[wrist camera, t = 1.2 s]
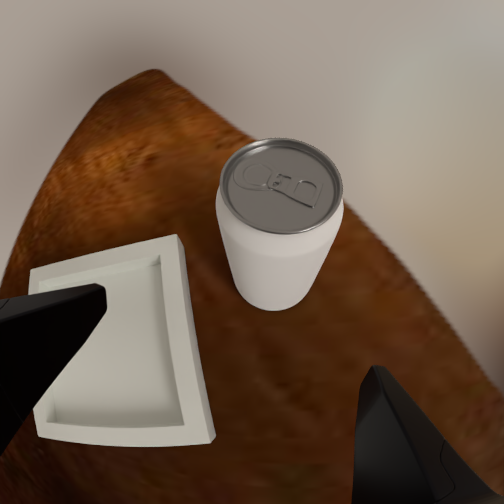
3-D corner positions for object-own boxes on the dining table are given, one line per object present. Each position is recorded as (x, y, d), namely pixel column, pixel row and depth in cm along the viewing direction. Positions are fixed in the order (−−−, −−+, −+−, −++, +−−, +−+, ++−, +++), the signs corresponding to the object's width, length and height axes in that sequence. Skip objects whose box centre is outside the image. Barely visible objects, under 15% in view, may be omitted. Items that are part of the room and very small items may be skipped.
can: (253, 228, 25) (247, 120, 14) (322, 254, 24) (363, 156, 13) (220, 292, 23) (183, 211, 12) (295, 324, 22) (329, 267, 11)
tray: (216, 436, 18) (210, 443, 16) (54, 434, 17) (38, 436, 15) (184, 247, 25) (176, 233, 22) (44, 278, 24) (30, 269, 21)
